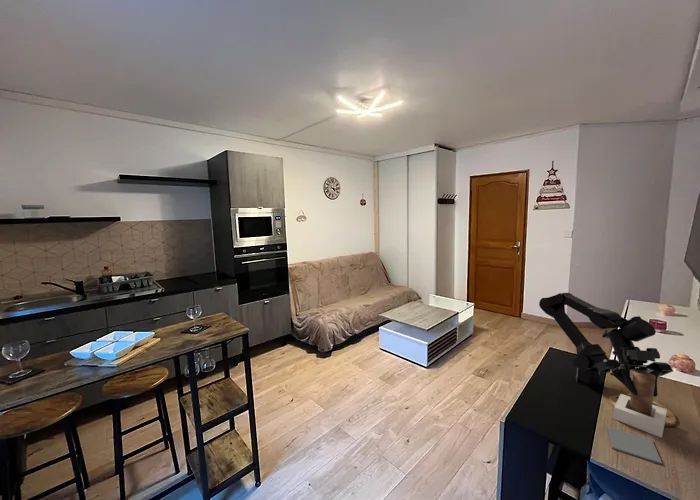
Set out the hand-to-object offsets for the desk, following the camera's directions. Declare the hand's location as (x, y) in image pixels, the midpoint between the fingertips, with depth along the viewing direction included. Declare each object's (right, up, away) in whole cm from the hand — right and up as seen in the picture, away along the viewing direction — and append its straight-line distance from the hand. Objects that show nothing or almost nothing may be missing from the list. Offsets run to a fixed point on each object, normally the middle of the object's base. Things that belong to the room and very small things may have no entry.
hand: (645, 395), depth 93 cm
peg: (0, -6, +2) cm, 7 cm away
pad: (-11, -10, -8) cm, 17 cm away
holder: (0, -9, +3) cm, 9 cm away
